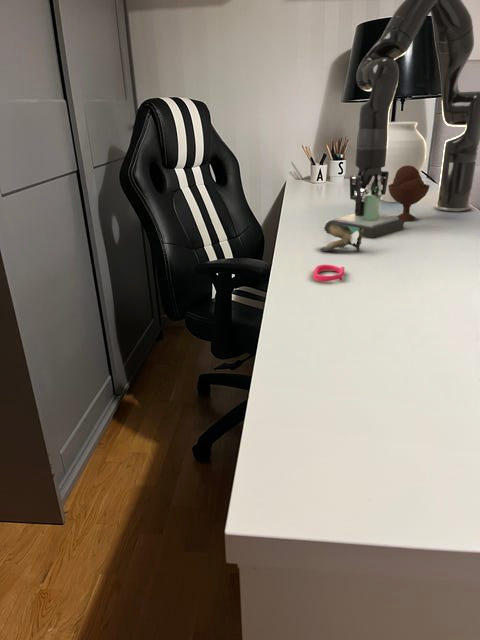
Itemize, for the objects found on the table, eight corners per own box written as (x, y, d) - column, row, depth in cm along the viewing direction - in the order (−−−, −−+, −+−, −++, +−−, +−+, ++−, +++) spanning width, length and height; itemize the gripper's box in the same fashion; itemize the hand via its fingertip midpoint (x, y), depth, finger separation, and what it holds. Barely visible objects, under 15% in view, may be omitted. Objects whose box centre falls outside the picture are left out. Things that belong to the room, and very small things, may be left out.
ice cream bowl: (428, 223, 138) (435, 167, 132) (386, 222, 140) (391, 167, 134) (423, 215, 148) (429, 162, 142) (384, 215, 150) (388, 163, 144)
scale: (359, 221, 143) (360, 210, 142) (403, 228, 133) (404, 217, 132) (327, 230, 134) (328, 218, 133) (372, 238, 125) (372, 226, 123)
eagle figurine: (360, 240, 119) (322, 232, 120) (367, 219, 113) (327, 211, 114) (355, 264, 115) (317, 256, 116) (362, 244, 109) (321, 235, 110)
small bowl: (363, 215, 136) (365, 194, 134) (382, 217, 132) (384, 196, 130) (350, 218, 133) (351, 197, 131) (369, 221, 129) (371, 199, 126)
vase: (394, 207, 161) (402, 123, 151) (356, 199, 175) (361, 122, 165) (432, 201, 169) (442, 121, 159) (392, 194, 183) (399, 120, 173)
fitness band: (342, 284, 94) (342, 276, 93) (311, 282, 95) (311, 274, 95) (345, 271, 101) (345, 263, 101) (316, 269, 103) (316, 262, 102)
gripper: (367, 149, 119) (362, 220, 125) (400, 145, 127) (394, 211, 134) (342, 148, 124) (338, 216, 130) (375, 144, 132) (370, 208, 139)
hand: (366, 213), depth 132 cm, fingers closed on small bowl, 6 cm apart
